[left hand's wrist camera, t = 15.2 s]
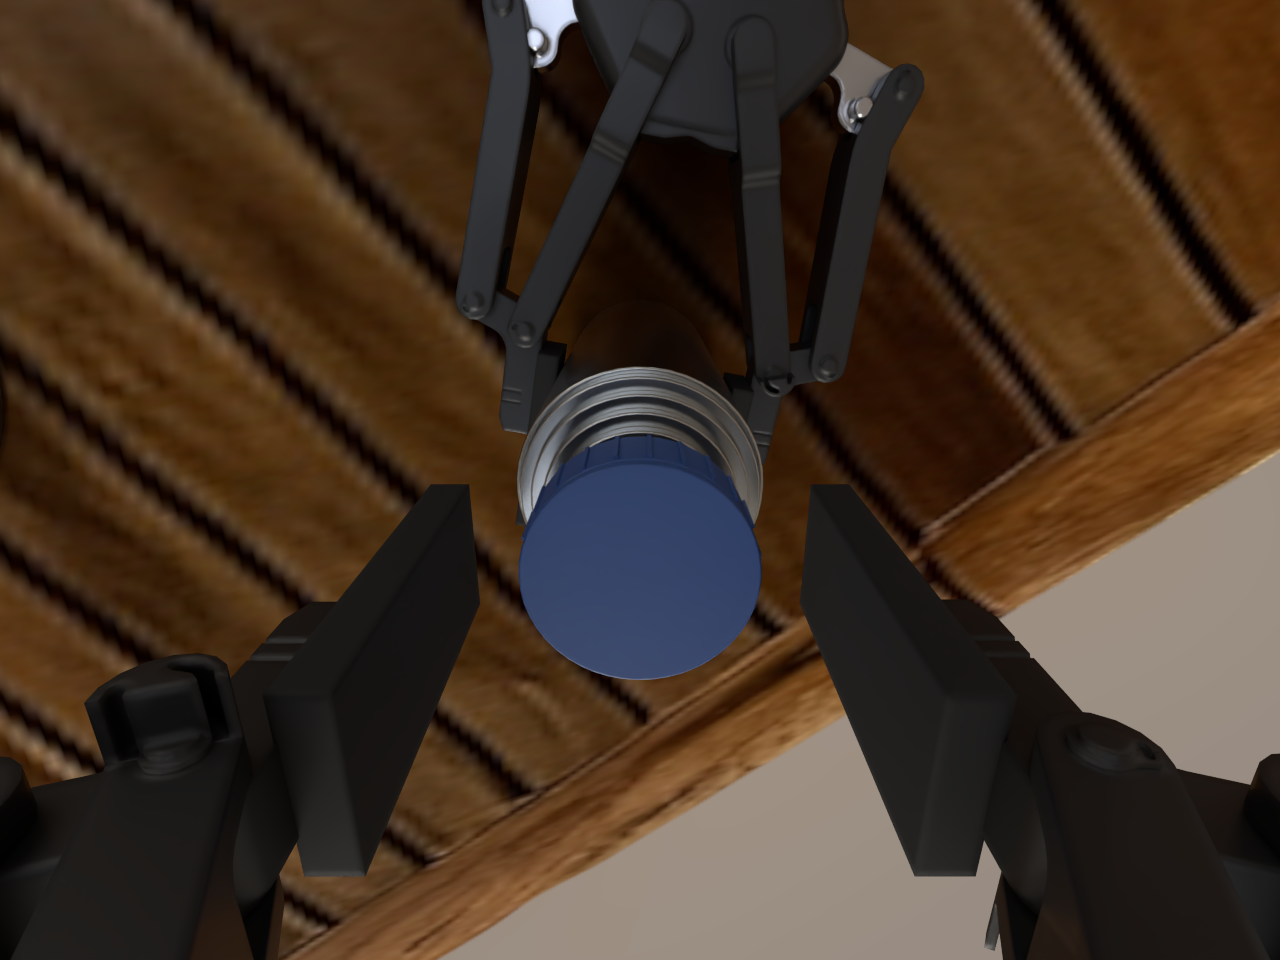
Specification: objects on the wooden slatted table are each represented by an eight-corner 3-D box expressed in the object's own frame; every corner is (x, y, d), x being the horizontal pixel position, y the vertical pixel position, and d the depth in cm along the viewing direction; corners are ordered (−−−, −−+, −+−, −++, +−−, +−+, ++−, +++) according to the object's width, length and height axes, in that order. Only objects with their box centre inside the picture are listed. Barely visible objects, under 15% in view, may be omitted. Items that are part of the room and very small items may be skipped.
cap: (507, 604, 15) (491, 651, 13) (558, 405, 13) (547, 430, 12) (709, 655, 15) (717, 705, 14) (781, 468, 14) (801, 500, 12)
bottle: (650, 269, 30) (665, 340, 12) (734, 378, 31) (861, 585, 13) (544, 359, 31) (413, 545, 13) (630, 458, 33) (619, 746, 15)
